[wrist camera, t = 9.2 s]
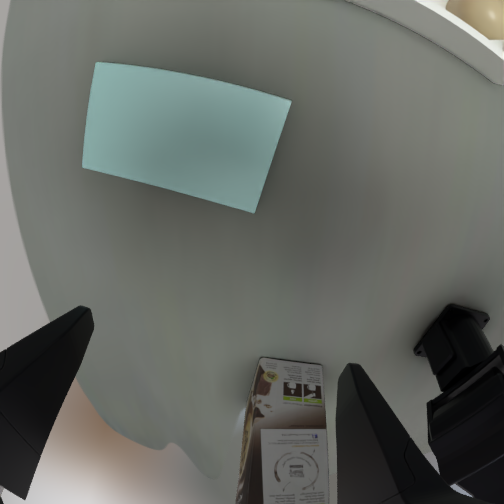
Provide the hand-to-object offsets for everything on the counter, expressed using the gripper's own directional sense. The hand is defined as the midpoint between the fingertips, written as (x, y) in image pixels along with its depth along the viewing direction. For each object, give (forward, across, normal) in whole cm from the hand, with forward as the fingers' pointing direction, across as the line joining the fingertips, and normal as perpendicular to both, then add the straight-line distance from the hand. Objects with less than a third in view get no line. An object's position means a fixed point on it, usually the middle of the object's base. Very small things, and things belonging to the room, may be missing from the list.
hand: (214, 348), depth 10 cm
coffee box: (+13, -6, +19) cm, 24 cm away
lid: (+13, +5, -4) cm, 15 cm away
